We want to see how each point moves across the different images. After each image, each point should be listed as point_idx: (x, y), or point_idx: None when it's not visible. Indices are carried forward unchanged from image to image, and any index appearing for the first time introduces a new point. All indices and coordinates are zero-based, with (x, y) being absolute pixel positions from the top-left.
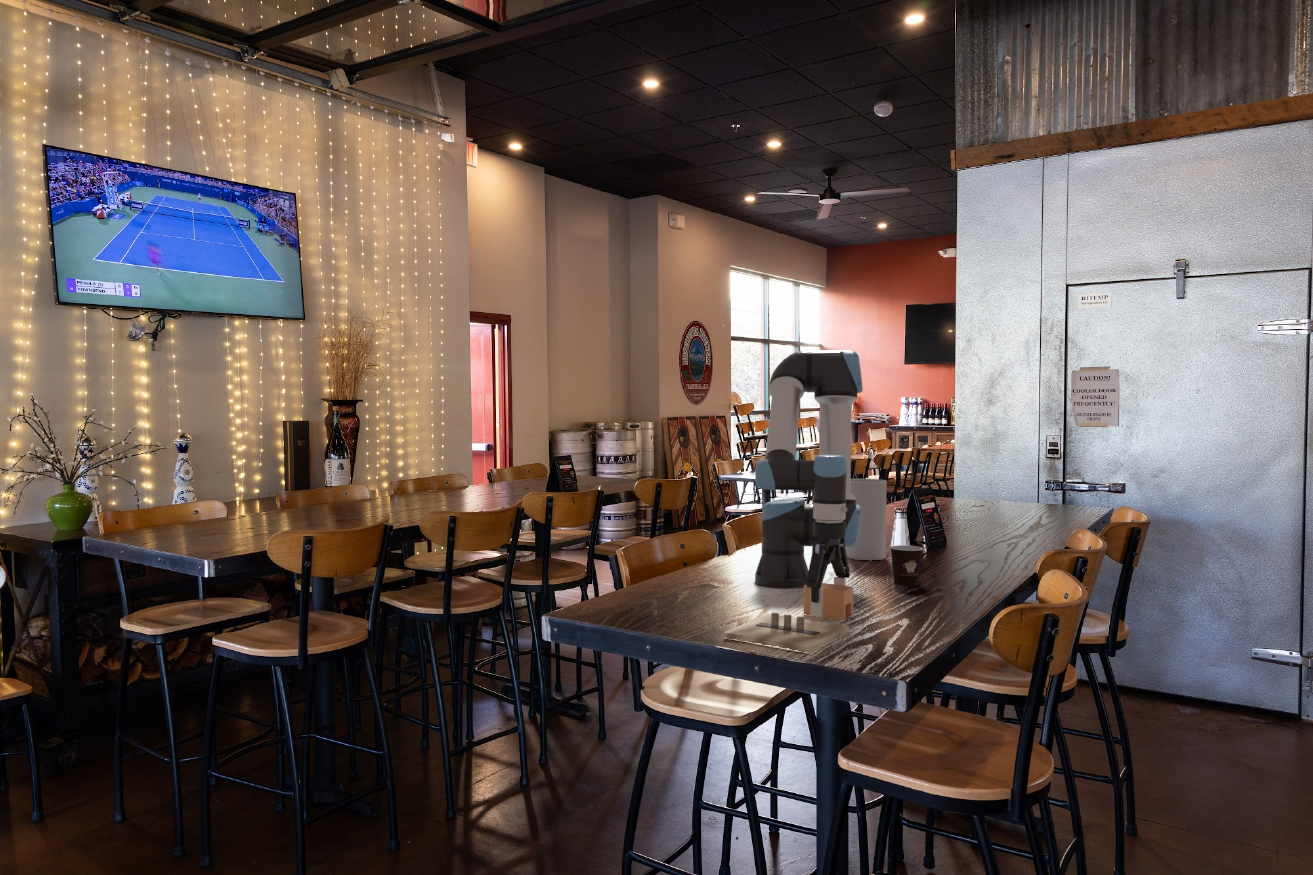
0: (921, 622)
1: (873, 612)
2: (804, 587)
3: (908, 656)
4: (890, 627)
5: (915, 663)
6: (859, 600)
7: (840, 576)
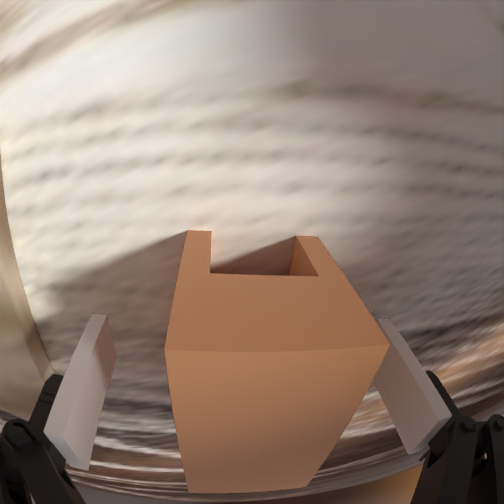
0: None
1: None
2: (165, 343)
3: None
4: None
5: None
6: (492, 314)
7: (437, 440)
